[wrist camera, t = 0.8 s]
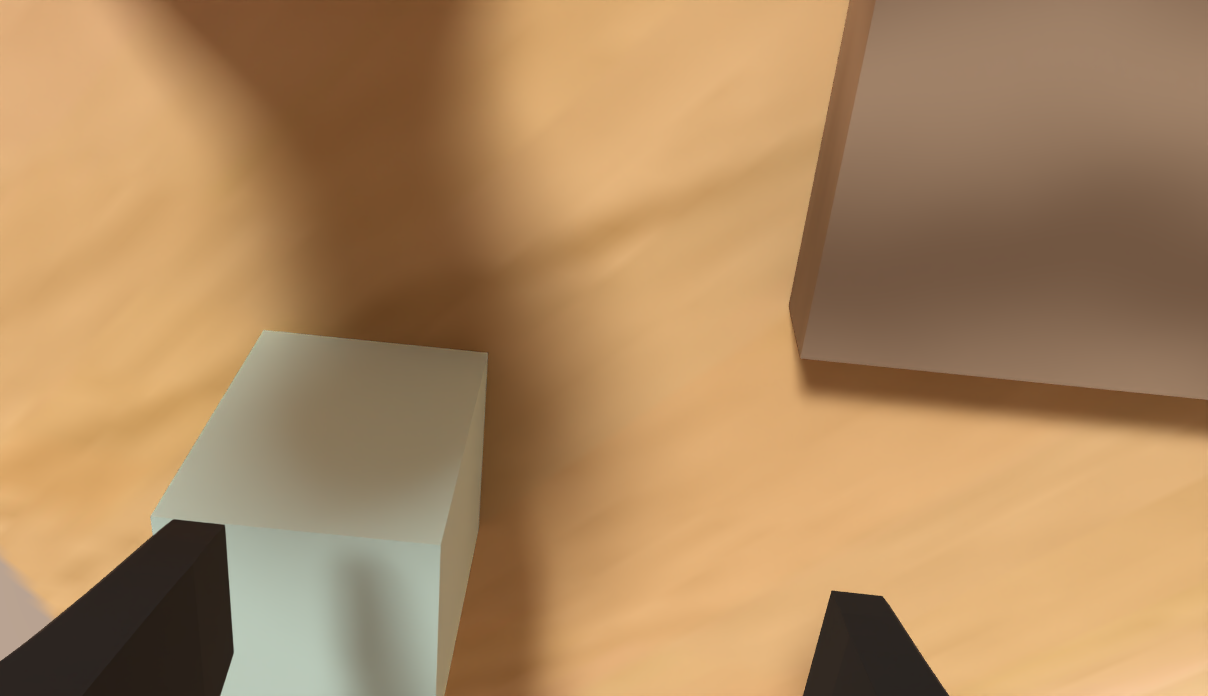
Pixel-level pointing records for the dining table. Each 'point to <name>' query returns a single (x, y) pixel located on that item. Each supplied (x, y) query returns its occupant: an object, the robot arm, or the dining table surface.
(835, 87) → the walnut stand
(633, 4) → the dining table surface
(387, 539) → the sage block
